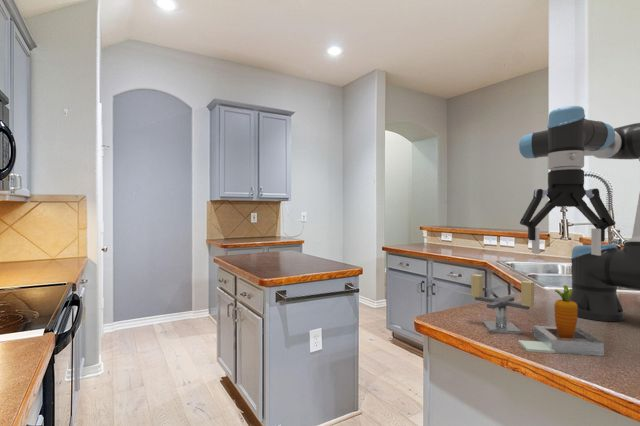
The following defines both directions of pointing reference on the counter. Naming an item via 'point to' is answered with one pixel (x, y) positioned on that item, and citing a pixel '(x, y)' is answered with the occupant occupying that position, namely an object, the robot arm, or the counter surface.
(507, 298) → the handwheel
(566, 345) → the gray square frame
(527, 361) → the counter surface
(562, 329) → the carrot
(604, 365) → the counter surface
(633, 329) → the counter surface
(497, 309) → the square base pedestal
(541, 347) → the pad
